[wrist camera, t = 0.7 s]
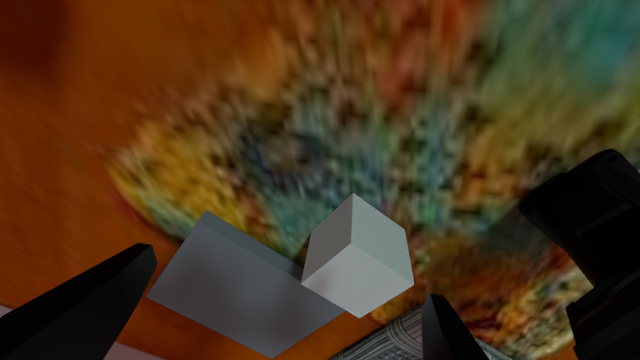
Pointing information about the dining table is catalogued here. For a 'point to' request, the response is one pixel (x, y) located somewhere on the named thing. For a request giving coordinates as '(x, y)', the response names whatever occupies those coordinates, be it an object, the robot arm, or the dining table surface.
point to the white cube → (357, 258)
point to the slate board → (241, 289)
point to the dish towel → (400, 342)
